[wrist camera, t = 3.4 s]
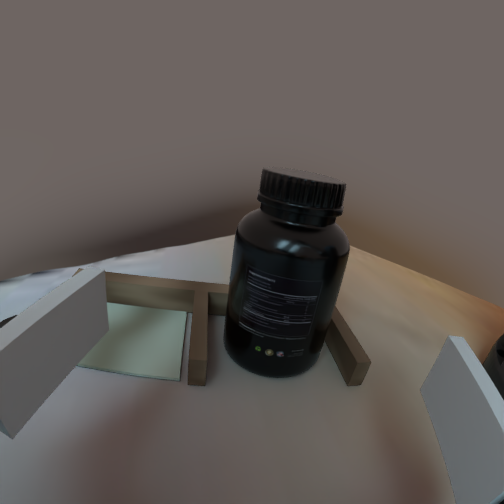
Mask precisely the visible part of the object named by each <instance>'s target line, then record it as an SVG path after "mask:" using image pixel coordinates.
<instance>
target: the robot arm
mask: <svg viewBox="0 0 504 504" xmlns="http://www.w3.org/2000/svg"><path fill="white" fill-rule="evenodd" d="M108 331H109V322H108V311H107V298H106V282H105V270H104V269H100V268H96V267H92V266H88V267H86V268H85V269H83V270H82V271H80V272H79V273H77V274H76V275H74V276H73V277H71V278H70V279H68V280H67V281H65V282H64V283H62V284H61V285H60V286H58V287H57V288H55V289H54V290H52V291H51V292H49V293H48V294H47V295H45V296H44V297H42V298H41V299H40V300H38V301H37V302H35V303H34V304H33V305H31V306H30V307H28V308H27V309H26V310H24V311H23V312H22V313H20V314H19V315H15V316H13V317H10V318H7V319H5V320H3V321H2V322H0V431H2V432H3V433H4V434H6V435H7V436H8V437H10V438H11V439H13V438H14V437H15V436H16V435H17V433H18V432H19V431H20V430H21V429H22V427H23V426H24V425H25V424H26V423H27V421H28V420H29V419H30V418H31V417H32V415H33V414H34V413H35V412H36V411H37V410H38V408H39V407H40V406H41V405H42V404H43V403H44V401H45V400H46V399H47V398H48V397H49V396H50V395H51V393H52V392H53V391H54V390H55V389H56V388H57V387H58V385H59V384H60V383H61V382H62V381H63V380H64V379H65V378H66V376H67V375H68V374H69V373H70V372H71V371H72V370H73V369H74V368H75V366H76V365H77V364H78V363H79V362H80V361H81V360H82V359H83V358H84V357H85V356H86V354H87V353H88V352H89V351H90V350H91V349H92V348H93V347H94V346H95V345H96V344H97V343H98V341H99V340H100V339H101V338H102V337H103V336H104V335H105V334H106V333H107V332H108ZM420 391H421V393H422V396H423V399H424V401H425V404H426V407H427V410H428V412H429V415H430V418H431V421H432V424H433V427H434V429H435V432H436V435H437V438H438V441H439V445H440V448H441V451H442V454H443V457H444V460H445V464H446V467H447V471H448V474H449V478H450V481H451V485H452V488H453V492H454V496H455V500H456V504H504V334H503V335H502V336H501V337H500V338H499V339H498V340H497V341H496V343H495V344H494V345H493V347H492V349H491V351H490V353H489V354H488V356H487V358H486V360H485V362H484V363H483V365H482V364H481V363H480V361H479V360H478V358H477V357H476V355H475V354H474V352H473V351H472V349H471V348H470V346H469V345H468V343H467V342H466V341H465V339H464V338H463V337H457V336H449V335H448V338H447V340H446V342H445V344H444V346H443V348H442V350H441V352H440V354H439V356H438V358H437V360H436V362H435V364H434V365H433V367H432V369H431V371H430V373H429V375H428V376H427V378H426V380H425V382H424V384H423V385H422V387H421V389H420Z"/></svg>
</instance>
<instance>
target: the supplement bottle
mask: <svg viewBox="0 0 504 504" xmlns="http://www.w3.org/2000/svg"><path fill="white" fill-rule="evenodd" d="M345 190H346V184H345V183H344V182H343V181H340V180H338V179H335V178H332V177H328V176H325V175H320V174H316V173H311V172H306V171H301V170H295V169H288V168H276V167H266V168H263V171H262V176H261V182H260V189H259V190H258V195H257V200H258V201H260V202H261V205H260V208H259V209H256V210H254V211H252V212H250V213H248V214H247V215H246V216H244V217H243V219H242V220H241V221H240V223H239V224H238V226H237V230H236V235H235V242H234V249H233V258H232V266H231V274H230V282H229V291H228V299H227V307H226V316H225V325H224V336H223V340H224V346H225V349H226V351H227V353H228V354H229V356H230V357H231V358H232V359H233V360H234V361H235V362H236V363H237V364H238V365H240V366H241V367H243V368H244V369H246V370H248V371H250V372H252V373H255V374H258V375H261V376H266V377H273V378H284V377H291V376H295V375H298V374H301V373H303V372H305V371H307V370H308V369H309V368H311V367H312V366H313V365H314V364H315V362H316V361H317V359H318V357H319V355H320V352H321V349H322V346H323V343H324V340H325V337H326V334H327V331H328V327H329V324H330V321H331V318H332V314H333V311H334V307H335V304H336V301H337V297H338V293H339V290H340V286H341V283H342V279H343V275H344V272H345V268H346V264H347V260H348V255H349V250H350V246H349V241H348V238H347V236H346V234H345V233H344V231H343V230H342V229H341V228H340V227H339V225H337V224H336V222H335V220H336V217H338V216H341V215H342V212H343V208H344V207H343V205H342V204H343V200H344V195H345Z"/></svg>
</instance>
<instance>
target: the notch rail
mask: <svg viewBox="0 0 504 504" xmlns="http://www.w3.org/2000/svg"><path fill="white" fill-rule="evenodd" d="M82 270H83V269H80V268H79V269H78V270H77V272H76V273H75V274H74V275H76V274H77V273H79V272H80V271H82ZM74 275H73V276H74ZM73 276H72V277H73ZM105 282H106V298H107V311H108V322H109V331H108V332H107V333H106V334H105V335H104V336H103V337H102V338H101V339H100V340H99V341H98V343H97V344H96V345H95V346H94V347H93V348H92V349H91V350H90V351H89V352H88V353H87V354H86V356H85V357H84V358H83V359H82V360H81V361H80V362H79V363H78V364H77V365H76V366H81V367H86V368H92V369H97V370H103V371H108V372H114V373H121V374H127V375H134V376H141V377H149V378H157V379H166V380H175V381H179V379H180V369H181V359H182V350H183V341H184V332H185V324H186V315H187V312H190V313H193V315H192V326H191V337H190V349H189V364H188V385H199V386H205V379H206V368H207V322H208V314H212V315H225V316H226V307H227V299H228V291H229V285H227V284H216V283H205V282H195V281H185V280H175V279H165V278H156V277H147V276H138V275H129V274H121V273H112V272H105ZM325 342H326V344H327V346H328V348H329V350H330V352H331V354H332V356H333V358H334V360H335V362H336V364H337V366H338V368H339V370H340V372H341V374H342V376H343V378H344V380H345V382H346V384H347V386H355V385H361V384H362V381H363V379H364V377H365V375H366V373H367V371H368V368H369V366H370V364H371V361H370V359H369V358H368V356H367V354H366V353H365V351H364V350H363V348H362V347H361V345H360V343H359V342H358V340H357V339H356V337H355V336H354V334H353V332H352V331H351V329H350V328H349V326H348V325H347V323H346V322H345V320H344V319H343V317H342V315H341V314H340V312H339V311H338V309H337V308H336V306H335V307H334V311H333V314H332V318H331V321H330V324H329V327H328V331H327V334H326V337H325Z"/></svg>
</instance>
